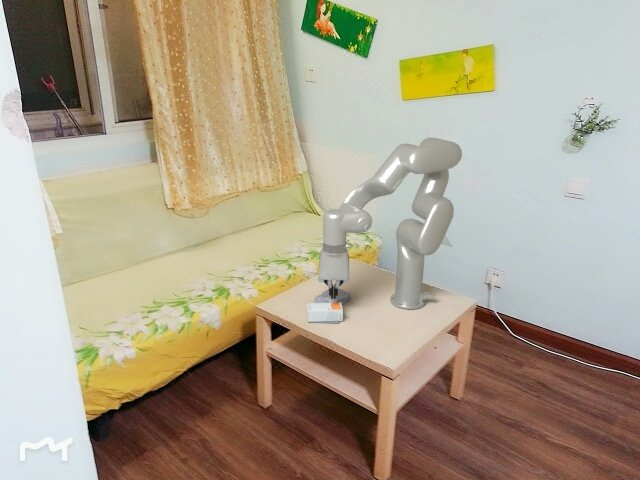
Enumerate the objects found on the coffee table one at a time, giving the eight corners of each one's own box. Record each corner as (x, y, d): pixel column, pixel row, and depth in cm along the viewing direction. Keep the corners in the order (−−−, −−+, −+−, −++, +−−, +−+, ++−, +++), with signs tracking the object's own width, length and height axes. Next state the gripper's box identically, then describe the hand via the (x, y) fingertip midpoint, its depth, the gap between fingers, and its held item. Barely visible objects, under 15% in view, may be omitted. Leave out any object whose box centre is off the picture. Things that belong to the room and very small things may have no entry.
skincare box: (343, 309, 156) (307, 311, 156) (343, 321, 158) (308, 322, 157) (341, 301, 162) (307, 302, 161) (341, 312, 163) (307, 313, 163)
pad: (339, 310, 165) (339, 309, 165) (339, 323, 157) (339, 322, 157) (317, 310, 166) (317, 309, 166) (315, 323, 157) (315, 322, 157)
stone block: (312, 309, 171) (334, 312, 164) (311, 296, 170) (333, 299, 163) (331, 298, 180) (352, 300, 174) (329, 286, 179) (351, 288, 173)
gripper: (357, 243, 155) (355, 293, 162) (312, 242, 156) (312, 291, 162) (357, 251, 148) (355, 303, 155) (310, 250, 149) (310, 301, 155)
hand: (333, 297), depth 158 cm, fingers closed
